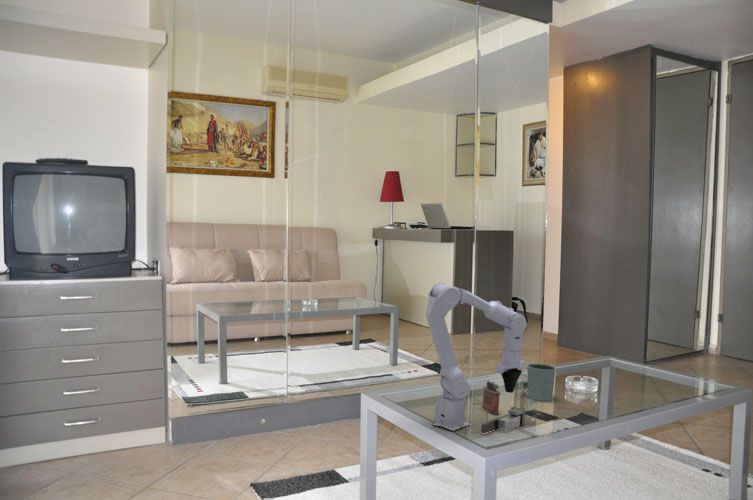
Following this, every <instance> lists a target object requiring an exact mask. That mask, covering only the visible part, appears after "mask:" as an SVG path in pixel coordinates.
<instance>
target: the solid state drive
mask: <svg viewBox="0 0 753 500" xmlns="http://www.w3.org/2000/svg"><path fill="white" fill-rule="evenodd" d="M525 416H529V417H532V418H535V419H538V420H540V421H543V422H550V421H551V422H552V421H553V420H557V419H559V416H556V415H553V414H551V413H547V412H545V411H544V412H543V411H540V410H538V409H529V410H525Z"/></svg>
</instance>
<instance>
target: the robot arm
mask: <svg viewBox="0 0 753 500" xmlns="http://www.w3.org/2000/svg"><path fill="white" fill-rule="evenodd" d="M427 295H428V301H427V305H426V306H427V307H426V311H425V317H426V320H427V324H428V327H429V332H430V334H431V337H432V341H433V344H434V348H435V351H436V354H437V357H438V358H437V359H438V362H439V365H440V368H441V369H440V371H439V373H440V381H439V382H440V386H441V388H442V390H443V391H442V396H441V398H440V399H439V400H438V401H437V402H436V404H435V408H434V410H435V412H434V422H435V423H438V424H440V425H442V426H445V427H447V428H454V427H463V428H465V427H464V426H466V427H468V425H469V426H471V424H470V423H469V422H466V421H465V417H466V414H465V413H466V405H467V404H466V402H467V396H468V395H469V393H470V391H471V385H470V382H469V381H468V380H467V379H466V378H465V375H464V373H463V371H462V370H461V368H460V366H459V363H458V360H457V358H456V353H455V350H454V349H455V348H454V347H453V343H452V340H451V336H450V333H449V330H448V326H447V323H446V319H445V318H446V316H447V315H448V313H449V312H450V311H451V310H452V309H454V308H455V307H456V306H457V305H458V304H459V305H462V304H467V305H469V306H471V307H473V308H476V309H477V310H480V311H482V312H483V314H484V316H485V317H486V319H489V320H491V321H493V322H495V323H497V324H499V325H501V326H503V328H504V330H503V345H502V358H501V359H502V361H501V362H500V363H499V364H498V365H497V366H496V370H495V372H496V373H498V374H500V375H501V377H502V380H503V383H504V389H505V392H506V393H509V394H513V393H514V391H515V387H516V385H517V382H518V380H519V378H520V376H521V375H522V371H523V370H521V369H523V368H525V367H526V360H524V359H523V360H522V347H523V336H524V331H525V330H526V328H527V327H528V322H527V319H526V317H525V315H523V314H522V313H520V312H516V311H514V310H515V309H514V308H512V307H507V306H505V305H503V302H502V301H499V300H496V301H495V300H492V301H486V300H485V299H482V298H481V297H479V296H477V295H476V294H473V292H471V291H468V290H465V289H464V288H460V287H456V286H454V285H449V284H447V283H444V282H437V283H436V284H434V285H433V286H432V287H431V289H430V291H429V292H428V294H427Z"/></svg>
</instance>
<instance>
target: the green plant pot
mask: <svg viewBox="0 0 753 500" xmlns="http://www.w3.org/2000/svg"><path fill="white" fill-rule="evenodd" d="M526 369H527V389H528V390H527V397H528V399H529V400H532V401H535V402H540V403H541V402H542V403H545V402H546V403H548V402H552V400H553V392H554V385H555V378H556V377H555V376H556V369H557V368H556V366H554V365H551V364H546V363H536V362H535V363H528V364H527V368H526Z"/></svg>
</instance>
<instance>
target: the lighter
mask: <svg viewBox="0 0 753 500" xmlns="http://www.w3.org/2000/svg"><path fill="white" fill-rule="evenodd" d="M498 389H499V385H498V384H497V383H495V381H491V380H487V381H486V386H483V398H482V406H481V409H482V408H483V409H484V410H485V411H484V410H483V409H482V410H483V411H484V412H486V413H488V414H490V415H492V416H499V414H500V412H499V411H500V410H499V407H500V405H499V404H500V395H501V391H499V390H498Z"/></svg>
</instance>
